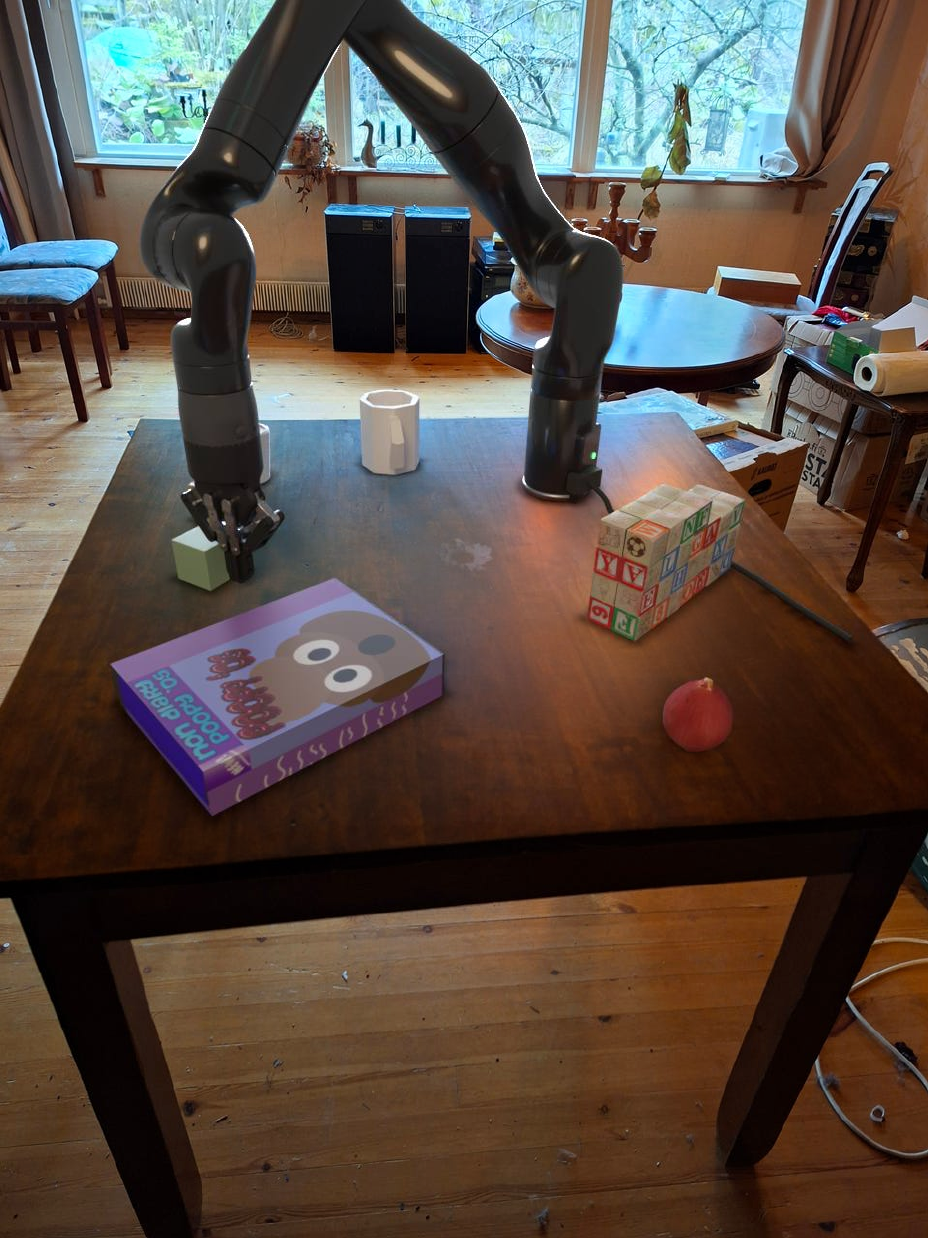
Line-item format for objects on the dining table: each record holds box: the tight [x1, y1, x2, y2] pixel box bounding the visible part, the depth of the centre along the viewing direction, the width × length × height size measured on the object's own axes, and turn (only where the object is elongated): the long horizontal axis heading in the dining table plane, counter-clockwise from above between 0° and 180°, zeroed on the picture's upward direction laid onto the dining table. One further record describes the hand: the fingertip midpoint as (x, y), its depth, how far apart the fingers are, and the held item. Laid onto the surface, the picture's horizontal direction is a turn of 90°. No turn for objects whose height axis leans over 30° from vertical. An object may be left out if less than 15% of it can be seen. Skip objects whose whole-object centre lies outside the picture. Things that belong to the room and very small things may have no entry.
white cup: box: [259, 422, 271, 484], centre depth 116 cm, size 7×7×7 cm
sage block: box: [170, 525, 230, 592], centre depth 94 cm, size 5×5×5 cm
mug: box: [359, 389, 420, 476], centre depth 119 cm, size 12×9×10 cm
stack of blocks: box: [586, 483, 746, 642], centre depth 92 cm, size 21×6×12 cm, turn 138°
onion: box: [662, 677, 734, 753], centre depth 71 cm, size 6×6×8 cm
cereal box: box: [109, 577, 445, 817], centre depth 76 cm, size 17×5×24 cm
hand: (241, 578), depth 92 cm, fingers closed
